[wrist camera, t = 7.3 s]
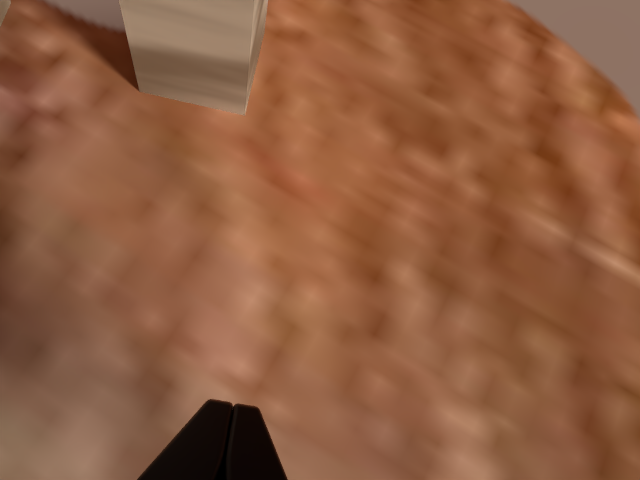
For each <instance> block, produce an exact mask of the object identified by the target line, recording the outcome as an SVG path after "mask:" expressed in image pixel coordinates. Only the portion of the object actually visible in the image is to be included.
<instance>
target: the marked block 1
mask: <svg viewBox="0 0 640 480" xmlns="http://www.w3.org/2000/svg"><path fill="white" fill-rule="evenodd" d="M10 4H11V1H10V0H0V26H1V24H2V22H3V19H4V17H5V15H6V13H7V10H8V8H9V6H10Z"/></svg>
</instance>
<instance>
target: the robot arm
mask: <svg viewBox="0 0 640 480" xmlns="http://www.w3.org/2000/svg"><path fill="white" fill-rule="evenodd" d="M232 409H233V410H232ZM137 480H288V479H287V477H286V474H285V472H284V469H283V467H282V464H281V462H280V459H279V457H278V454H277V452H276V449H275V447H274V444H273V442H272V439H271V437H270V434H269V432H268V429H267V427H266V424H265V422H264V419H263V417H262V414H261V412H260V410H259V408H257V407H255V406H250V405H244V404H235V405H234V406H233V405H232V403H230V402H226V401H220V400H214V399H210V400H208V401H206V402H205V404H204V405H203V406H202V407H201V408H200V409H199V410H198V411H197V413H196V414H195V415H194V416H193V417H192V418H191V419H190V420H189V422H188V423H187V424H186V425H185V426H184V427H183V428H182V429H181V431H180V432H179V433H178V434H177V435H176V436H175V437H174V438H173V440H172V441H171V442H170V443H169V444H168V445H167V446H166V447H165V449H164V450H163V451H162V452H161V453H160V454H159V455H158V456H157V458H156V459H155V460H154V461H153V462H152V463H151V464H150V465H149V467H148V468H147V469H146V470H145V471H144V472H143V473H142V474H141V476H140V477H139V478H138V479H137Z"/></svg>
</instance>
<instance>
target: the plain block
mask: <svg viewBox="0 0 640 480" xmlns="http://www.w3.org/2000/svg"><path fill="white" fill-rule="evenodd" d="M119 4H120V8H121V13H122V17H123V21H124V26H125V30H126V35H127V39H128V43H129V48H130V52H131V56H132V61H133V65H134V70H135V74H136V78H137V83H138V87H139V91H140V92H144V93H148V94H152V95H157V96H161V97H166V98H170V99H174V100H179V101H183V102H187V103H192V104H196V105H201V106H205V107H209V108H214V109H218V110H223V111H227V112H231V113H236V114H240V115H245V112H246V108H247V104H248V100H249V95H250V91H251V87H252V83H253V78H254V74H255V70H256V66H257V61H258V57H259V53H260V49H261V44H262V40H263V36H264V30H265V22H266V13H267V4H268V0H119Z"/></svg>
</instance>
